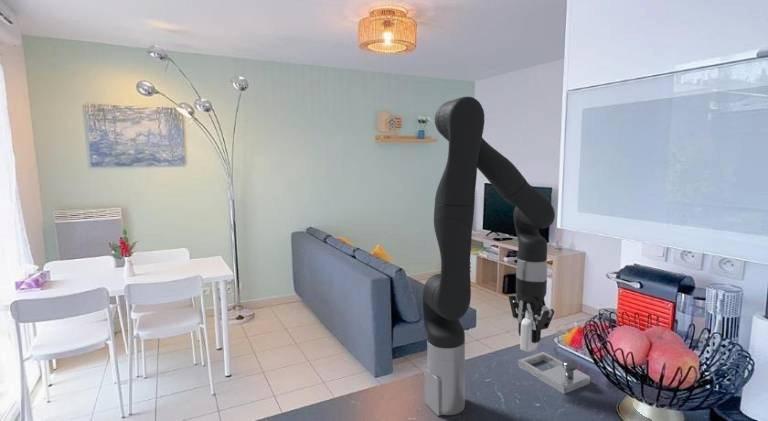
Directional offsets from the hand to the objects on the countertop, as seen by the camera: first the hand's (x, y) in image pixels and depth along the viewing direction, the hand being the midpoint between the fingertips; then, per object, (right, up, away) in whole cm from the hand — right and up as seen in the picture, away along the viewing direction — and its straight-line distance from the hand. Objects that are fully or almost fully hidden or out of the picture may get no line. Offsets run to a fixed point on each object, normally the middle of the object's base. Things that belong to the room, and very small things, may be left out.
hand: (529, 338), depth 107 cm
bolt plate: (+9, -12, +7) cm, 17 cm away
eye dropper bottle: (0, -3, 0) cm, 3 cm away
